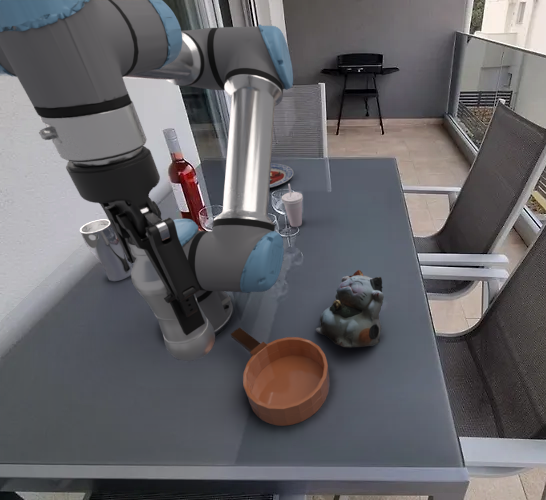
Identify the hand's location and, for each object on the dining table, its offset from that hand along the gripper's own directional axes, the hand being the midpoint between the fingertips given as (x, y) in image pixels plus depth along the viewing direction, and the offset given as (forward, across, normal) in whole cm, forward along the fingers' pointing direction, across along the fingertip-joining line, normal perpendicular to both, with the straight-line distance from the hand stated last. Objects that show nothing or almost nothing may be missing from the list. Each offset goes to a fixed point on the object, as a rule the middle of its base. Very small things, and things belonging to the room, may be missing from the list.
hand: (180, 316), depth 48 cm
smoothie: (+22, -34, +51) cm, 66 cm away
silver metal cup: (+22, -54, +6) cm, 59 cm away
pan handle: (+20, -4, +10) cm, 22 cm away
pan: (+22, +7, +10) cm, 25 cm away
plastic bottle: (+7, 0, 0) cm, 7 cm away
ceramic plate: (+22, -71, +68) cm, 101 cm away
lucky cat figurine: (+22, +7, +28) cm, 36 cm away
